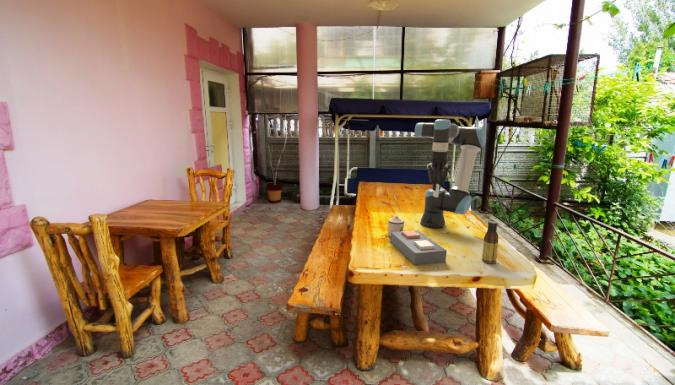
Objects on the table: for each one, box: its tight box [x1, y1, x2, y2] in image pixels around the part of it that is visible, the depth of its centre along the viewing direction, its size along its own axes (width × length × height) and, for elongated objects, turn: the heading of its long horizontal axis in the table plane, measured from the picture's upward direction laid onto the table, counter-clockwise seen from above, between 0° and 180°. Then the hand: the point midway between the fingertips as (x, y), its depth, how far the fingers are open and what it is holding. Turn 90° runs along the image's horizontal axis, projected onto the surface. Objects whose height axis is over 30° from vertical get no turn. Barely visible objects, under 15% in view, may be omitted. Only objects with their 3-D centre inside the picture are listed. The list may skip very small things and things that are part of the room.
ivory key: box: [414, 240, 434, 250], centre depth 154 cm, size 7×7×4 cm
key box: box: [390, 229, 447, 266], centre depth 161 cm, size 16×28×6 cm, turn 14°
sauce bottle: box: [481, 220, 499, 265], centre depth 150 cm, size 6×6×20 cm
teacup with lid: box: [387, 215, 405, 238], centre depth 184 cm, size 12×9×12 cm
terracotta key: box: [402, 229, 420, 239], centre depth 167 cm, size 7×7×4 cm
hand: (435, 196), depth 166 cm, fingers closed
